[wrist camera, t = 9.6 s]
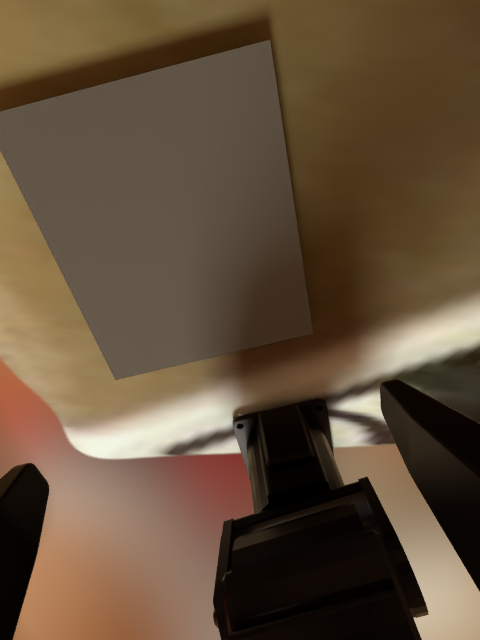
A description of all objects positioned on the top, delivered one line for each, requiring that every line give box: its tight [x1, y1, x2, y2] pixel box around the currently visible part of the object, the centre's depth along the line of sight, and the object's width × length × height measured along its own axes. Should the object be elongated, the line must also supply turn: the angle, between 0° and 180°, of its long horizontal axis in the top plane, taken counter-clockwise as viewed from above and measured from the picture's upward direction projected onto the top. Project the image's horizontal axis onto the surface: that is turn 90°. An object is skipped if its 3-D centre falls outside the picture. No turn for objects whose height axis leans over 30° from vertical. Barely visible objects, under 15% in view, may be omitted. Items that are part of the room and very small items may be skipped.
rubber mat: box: [0, 40, 313, 380], centre depth 18 cm, size 14×12×1 cm
